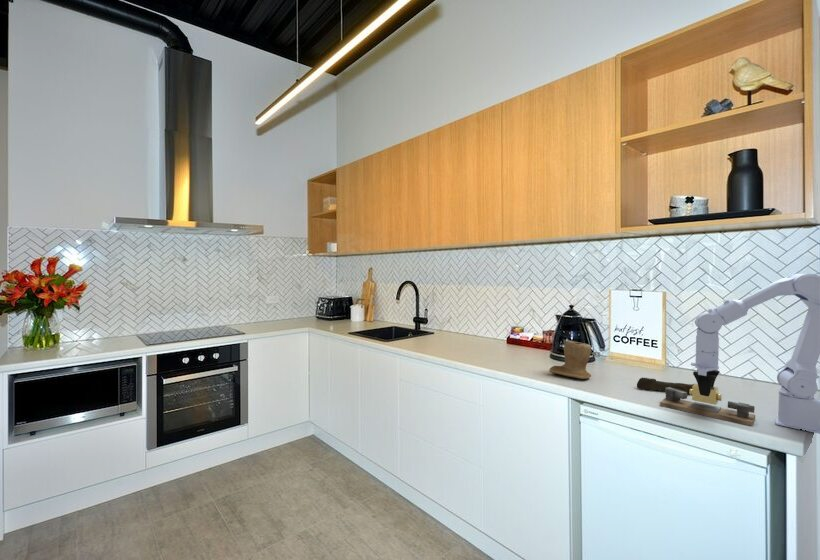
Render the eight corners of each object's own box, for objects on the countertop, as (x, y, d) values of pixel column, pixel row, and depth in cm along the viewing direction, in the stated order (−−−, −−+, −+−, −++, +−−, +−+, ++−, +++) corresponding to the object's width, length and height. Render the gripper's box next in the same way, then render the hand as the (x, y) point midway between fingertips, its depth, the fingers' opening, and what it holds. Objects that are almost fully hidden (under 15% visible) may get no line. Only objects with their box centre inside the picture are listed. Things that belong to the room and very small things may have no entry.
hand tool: (695, 393, 142) (695, 381, 142) (698, 396, 138) (698, 384, 138) (636, 387, 149) (636, 375, 149) (637, 390, 146) (637, 377, 145)
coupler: (722, 402, 121) (722, 388, 121) (719, 405, 118) (720, 391, 118) (691, 396, 127) (691, 382, 127) (688, 399, 124) (688, 385, 124)
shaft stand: (755, 418, 117) (755, 403, 117) (752, 426, 112) (752, 409, 112) (666, 400, 134) (666, 386, 134) (660, 405, 128) (660, 391, 128)
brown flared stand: (596, 377, 162) (596, 341, 162) (584, 382, 154) (585, 345, 154) (560, 370, 173) (561, 336, 173) (548, 375, 165) (548, 340, 164)
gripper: (696, 346, 130) (695, 386, 130) (686, 352, 120) (685, 395, 120) (723, 349, 125) (721, 391, 125) (715, 356, 115) (713, 401, 115)
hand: (705, 393), depth 123 cm, fingers closed on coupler, 4 cm apart
